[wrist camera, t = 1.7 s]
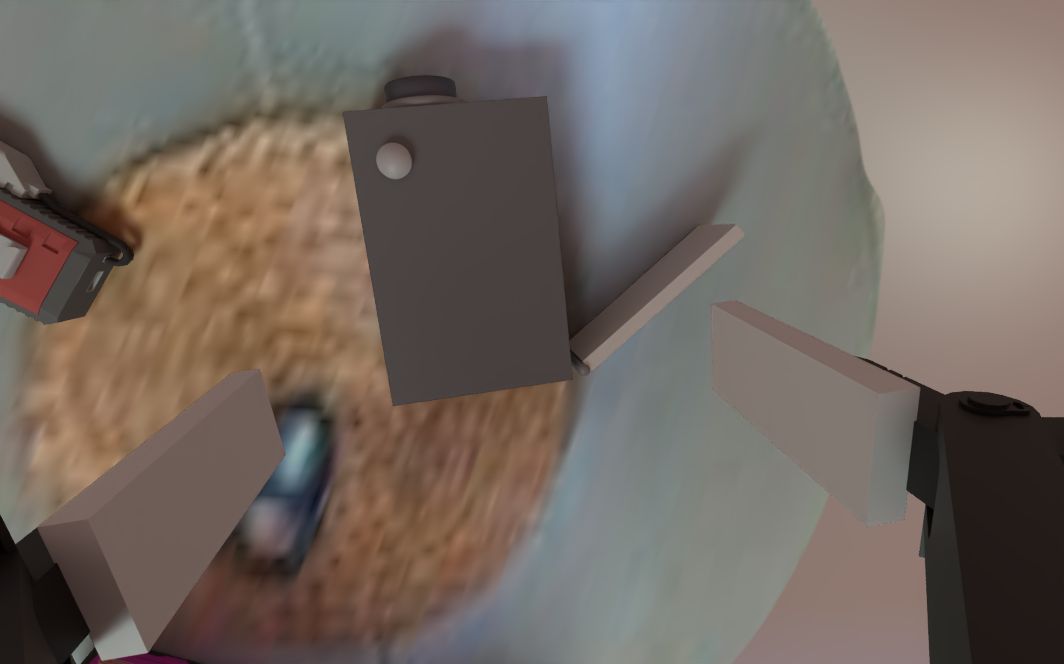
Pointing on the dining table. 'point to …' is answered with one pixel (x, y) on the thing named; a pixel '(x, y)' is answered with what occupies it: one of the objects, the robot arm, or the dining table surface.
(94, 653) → the candy bar box
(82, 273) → the walkie-talkie
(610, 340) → the side door
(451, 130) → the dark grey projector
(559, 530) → the dining table surface
